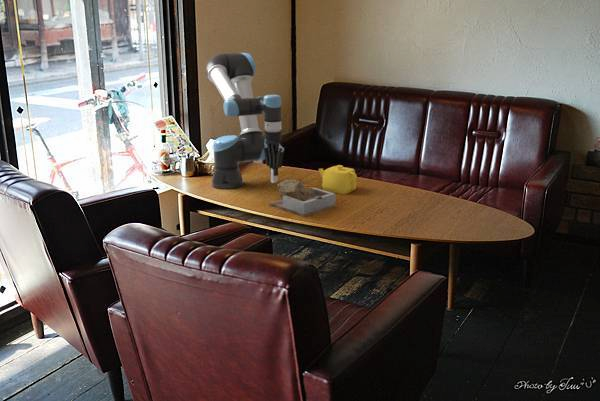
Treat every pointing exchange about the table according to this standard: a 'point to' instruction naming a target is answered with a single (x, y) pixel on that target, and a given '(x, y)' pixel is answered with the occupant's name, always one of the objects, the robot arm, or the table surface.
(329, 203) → the cradle rails
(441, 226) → the table surface
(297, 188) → the rock
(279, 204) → the cradle board
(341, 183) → the teapot
